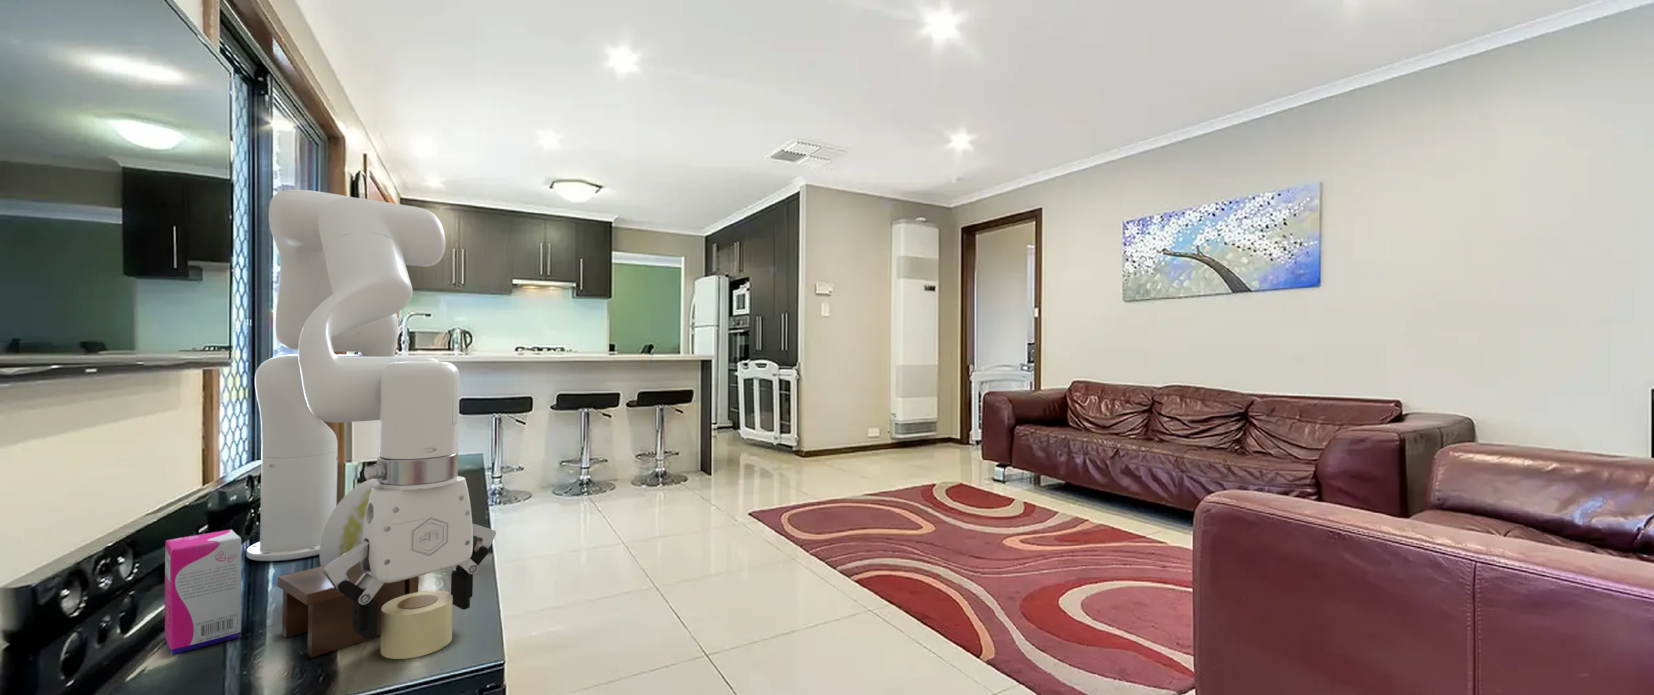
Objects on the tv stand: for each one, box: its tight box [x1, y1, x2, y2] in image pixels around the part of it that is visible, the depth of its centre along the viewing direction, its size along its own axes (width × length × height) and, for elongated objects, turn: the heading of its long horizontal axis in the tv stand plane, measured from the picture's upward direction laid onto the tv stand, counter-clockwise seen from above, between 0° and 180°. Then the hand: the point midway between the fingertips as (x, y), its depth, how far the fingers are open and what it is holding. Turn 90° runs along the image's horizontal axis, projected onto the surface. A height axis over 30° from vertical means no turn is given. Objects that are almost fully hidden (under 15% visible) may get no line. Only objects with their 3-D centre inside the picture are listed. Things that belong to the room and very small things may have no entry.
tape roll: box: [380, 590, 454, 660], centre depth 72 cm, size 7×7×5 cm
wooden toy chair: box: [277, 561, 420, 659], centre depth 75 cm, size 9×11×16 cm
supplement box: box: [164, 529, 242, 656], centre depth 72 cm, size 6×6×12 cm
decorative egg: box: [319, 478, 379, 567], centre depth 88 cm, size 12×12×15 cm
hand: (416, 620), depth 72 cm, fingers open, 9 cm apart
